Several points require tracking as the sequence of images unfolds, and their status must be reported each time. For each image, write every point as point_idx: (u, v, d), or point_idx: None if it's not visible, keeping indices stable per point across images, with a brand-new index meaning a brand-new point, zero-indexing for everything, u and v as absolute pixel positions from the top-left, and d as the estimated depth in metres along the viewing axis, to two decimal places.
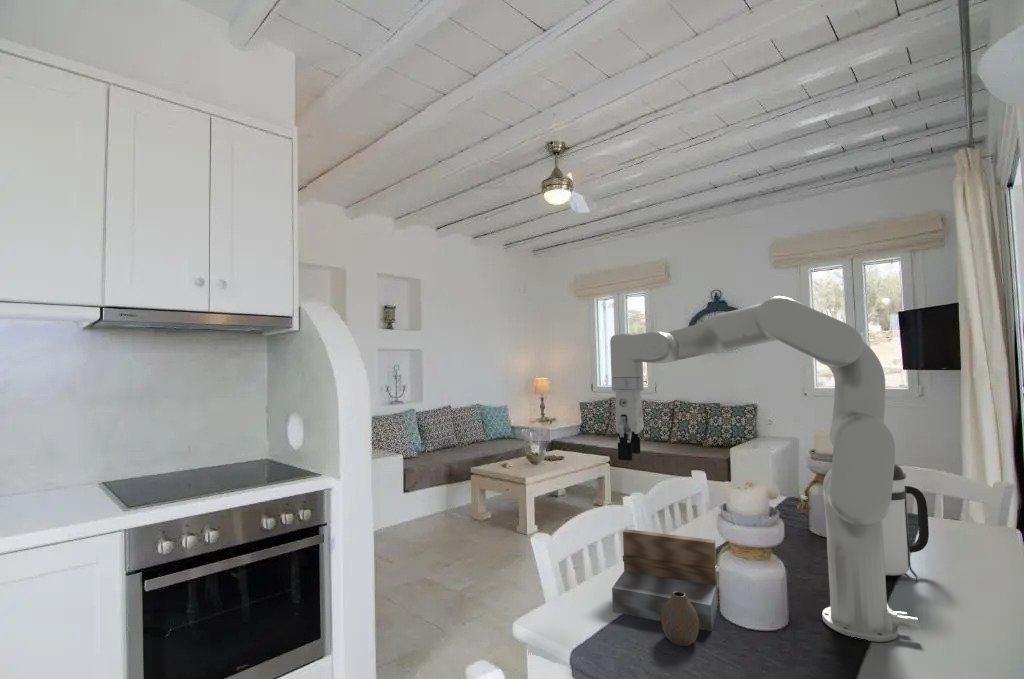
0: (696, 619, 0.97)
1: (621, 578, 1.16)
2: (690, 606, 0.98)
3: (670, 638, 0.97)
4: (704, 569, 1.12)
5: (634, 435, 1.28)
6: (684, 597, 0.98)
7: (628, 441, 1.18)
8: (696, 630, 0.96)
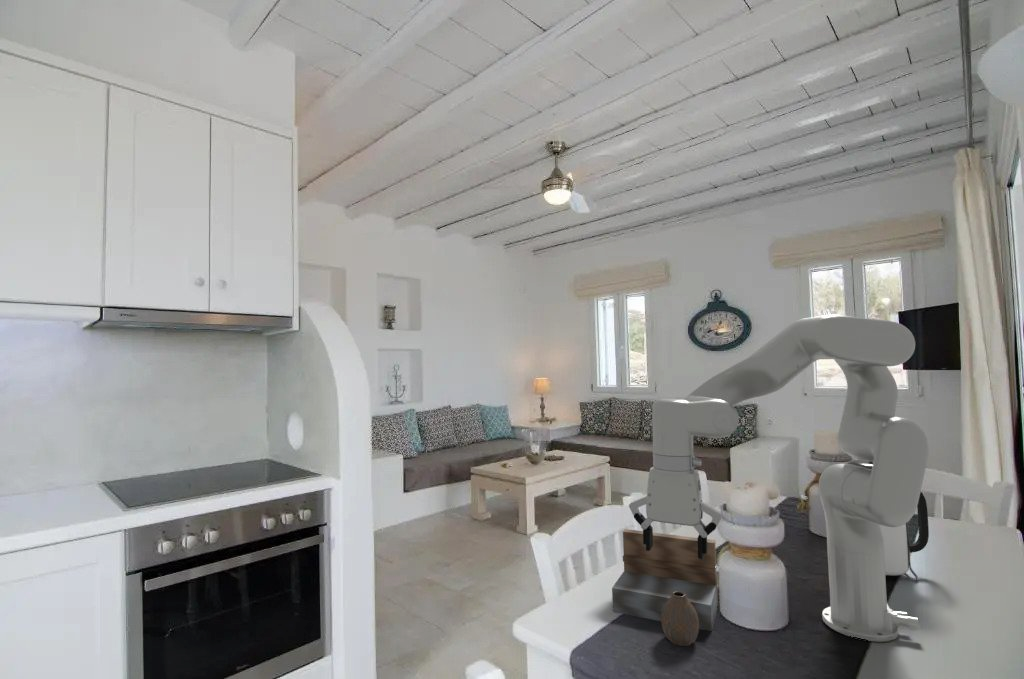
0: (696, 619, 0.97)
1: (621, 578, 1.16)
2: (690, 606, 0.98)
3: (670, 638, 0.97)
4: (704, 569, 1.12)
5: (650, 525, 1.02)
6: (684, 597, 0.98)
7: None
8: (696, 630, 0.96)
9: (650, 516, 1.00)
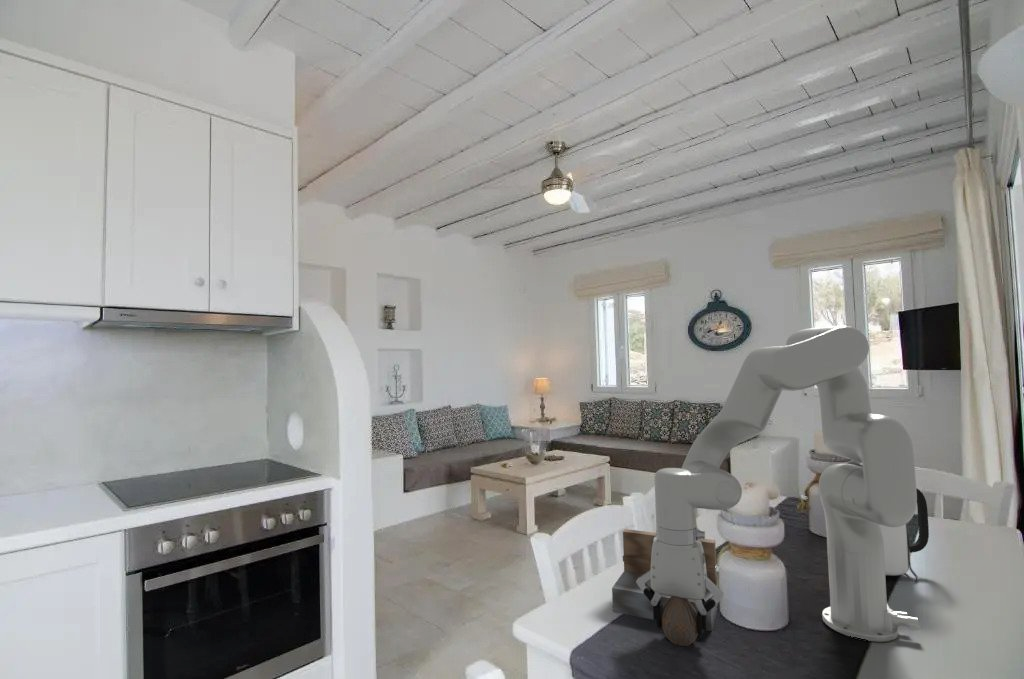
0: (696, 619, 0.97)
1: (621, 578, 1.16)
2: (690, 606, 0.98)
3: (670, 638, 0.97)
4: None
5: (660, 600, 1.01)
6: None
7: None
8: (696, 630, 0.96)
9: (654, 589, 0.99)
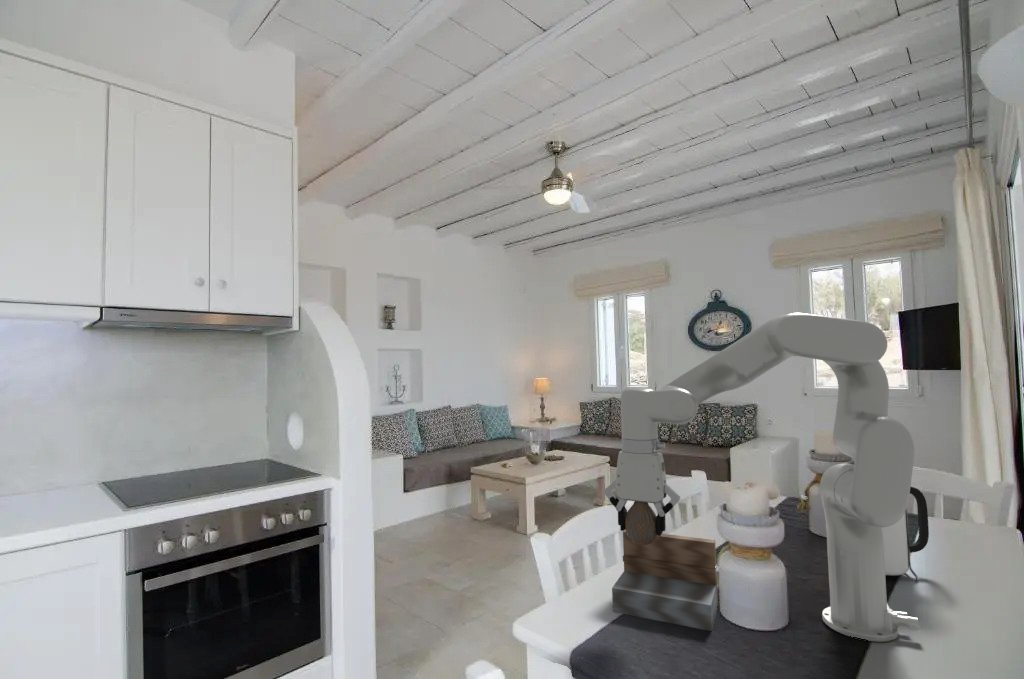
0: None
1: (621, 578, 1.16)
2: (650, 510, 1.08)
3: (632, 538, 1.07)
4: (704, 569, 1.12)
5: (624, 507, 1.11)
6: (645, 502, 1.08)
7: None
8: (655, 530, 1.07)
9: (619, 495, 1.10)
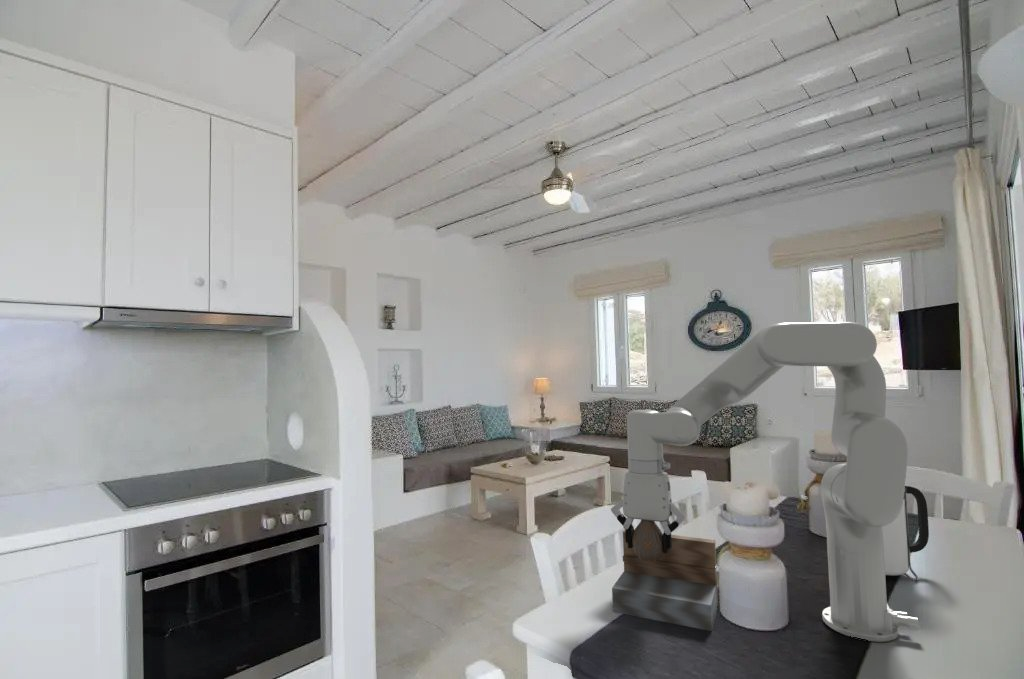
0: (662, 539, 1.11)
1: (621, 578, 1.16)
2: (657, 528, 1.12)
3: (639, 555, 1.11)
4: (704, 569, 1.12)
5: (631, 525, 1.15)
6: None
7: None
8: (661, 548, 1.10)
9: (626, 514, 1.13)
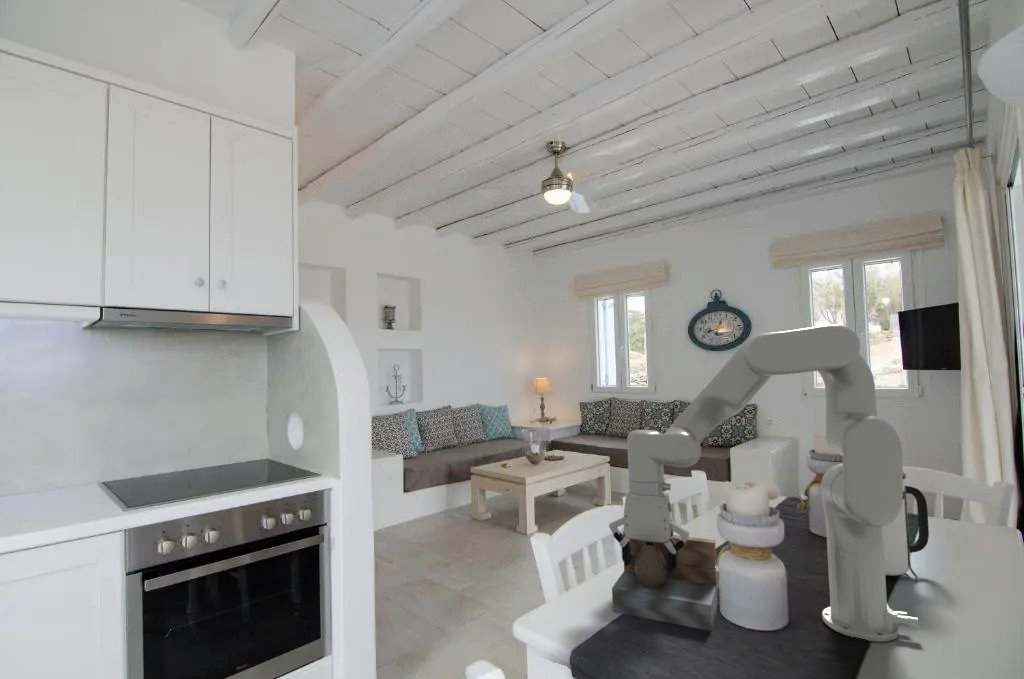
0: (665, 565, 1.10)
1: (621, 578, 1.16)
2: (659, 554, 1.11)
3: (642, 581, 1.11)
4: (704, 569, 1.12)
5: (628, 543, 1.15)
6: (654, 546, 1.12)
7: None
8: (664, 574, 1.10)
9: (627, 535, 1.13)
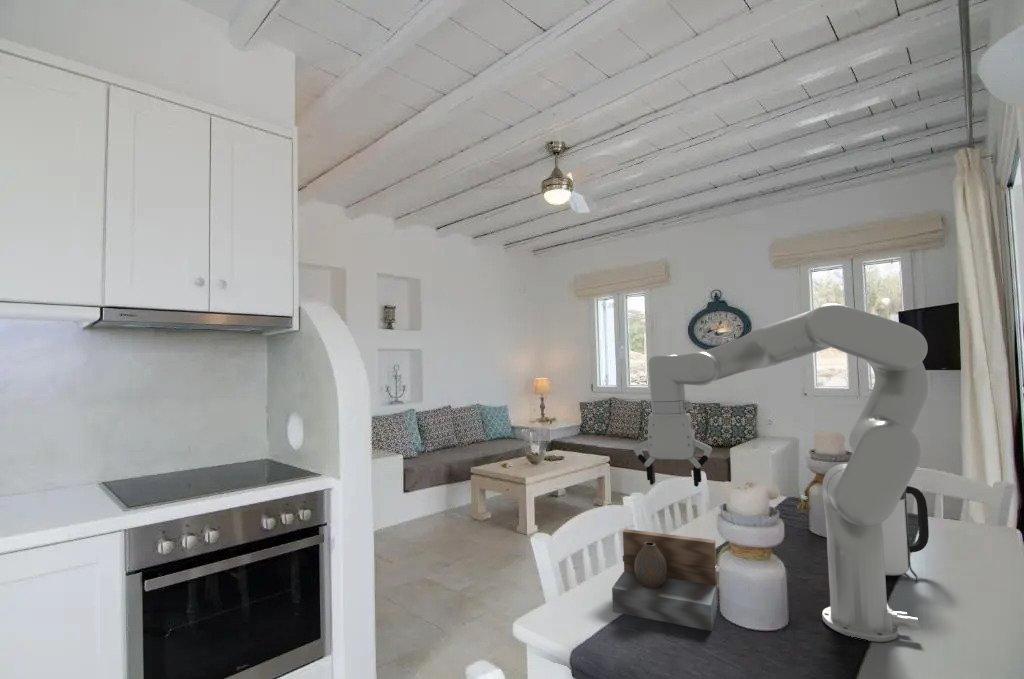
0: (665, 565, 1.11)
1: (621, 578, 1.16)
2: (659, 554, 1.11)
3: (642, 581, 1.11)
4: (704, 569, 1.12)
5: (652, 463, 1.20)
6: (654, 546, 1.12)
7: None
8: (664, 574, 1.10)
9: (652, 455, 1.18)
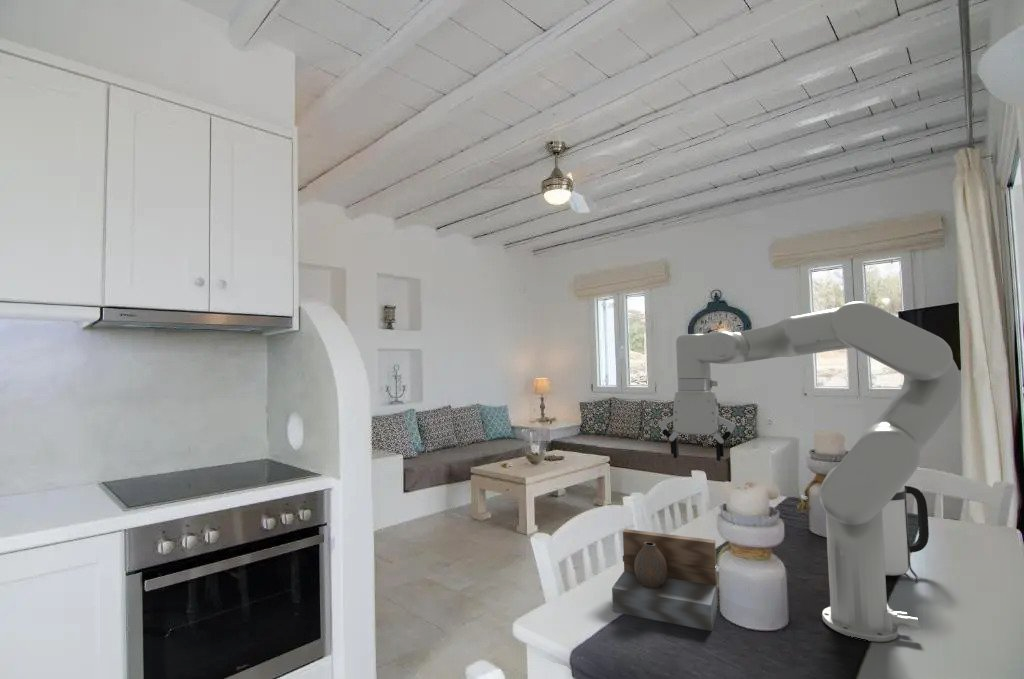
0: (665, 565, 1.11)
1: (621, 578, 1.16)
2: (659, 554, 1.11)
3: (642, 581, 1.11)
4: (704, 569, 1.12)
5: (676, 438, 1.25)
6: (654, 546, 1.12)
7: None
8: (664, 574, 1.10)
9: (676, 429, 1.23)
